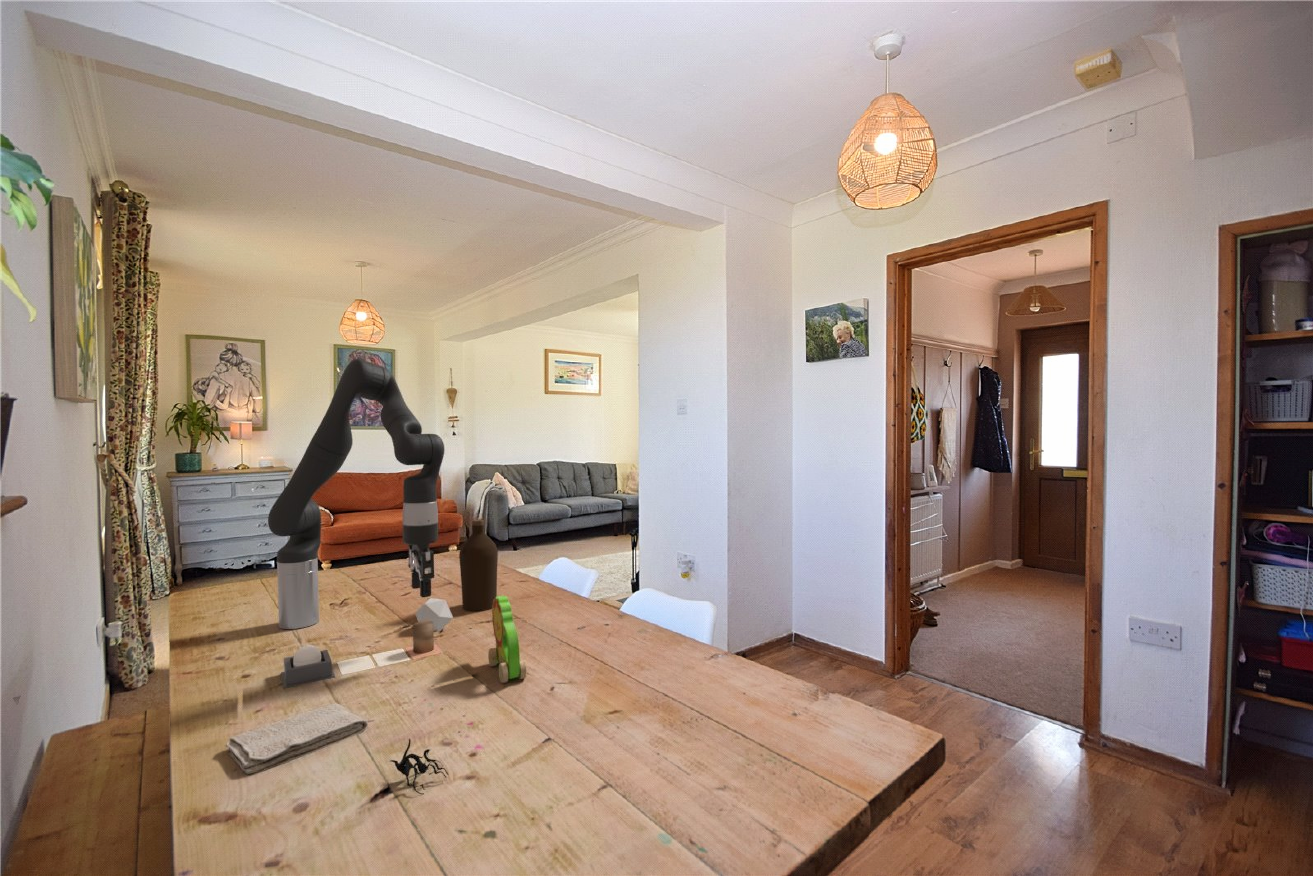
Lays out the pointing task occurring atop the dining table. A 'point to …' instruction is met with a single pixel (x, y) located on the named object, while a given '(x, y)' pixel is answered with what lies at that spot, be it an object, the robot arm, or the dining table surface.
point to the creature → (407, 765)
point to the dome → (306, 656)
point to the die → (435, 613)
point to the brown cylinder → (423, 637)
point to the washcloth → (293, 737)
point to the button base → (307, 671)
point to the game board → (382, 659)
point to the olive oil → (478, 569)
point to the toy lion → (505, 642)
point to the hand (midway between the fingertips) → (421, 592)
